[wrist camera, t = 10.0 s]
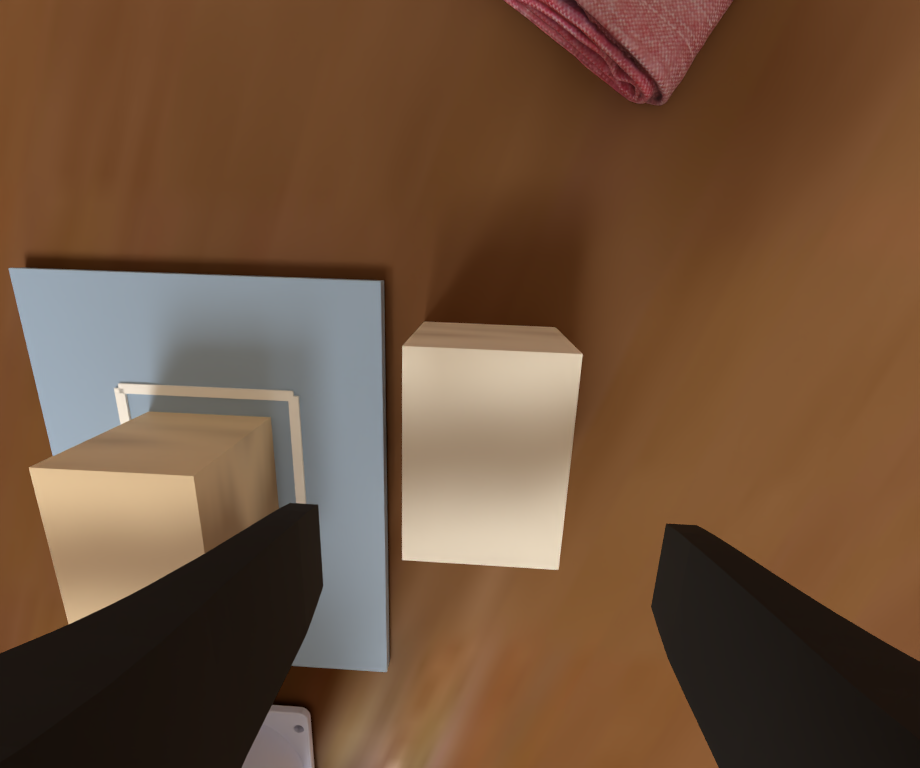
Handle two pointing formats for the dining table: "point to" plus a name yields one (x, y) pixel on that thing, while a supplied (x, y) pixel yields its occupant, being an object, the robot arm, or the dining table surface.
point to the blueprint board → (240, 401)
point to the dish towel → (630, 39)
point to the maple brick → (150, 500)
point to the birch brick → (487, 443)
